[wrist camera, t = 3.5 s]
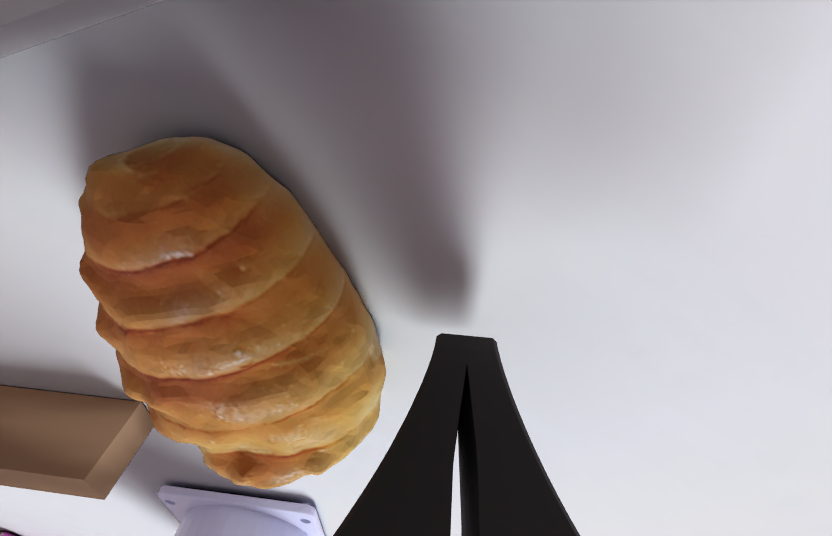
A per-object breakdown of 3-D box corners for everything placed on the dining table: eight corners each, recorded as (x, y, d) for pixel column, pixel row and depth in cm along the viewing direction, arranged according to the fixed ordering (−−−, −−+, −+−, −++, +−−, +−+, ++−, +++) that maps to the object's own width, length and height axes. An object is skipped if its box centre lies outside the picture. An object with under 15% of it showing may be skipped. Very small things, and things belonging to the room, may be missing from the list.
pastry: (54, 143, 10) (-132, 231, 7) (324, 103, 8) (241, 191, 5) (228, 387, 15) (169, 495, 12) (406, 386, 14) (387, 506, 11)
